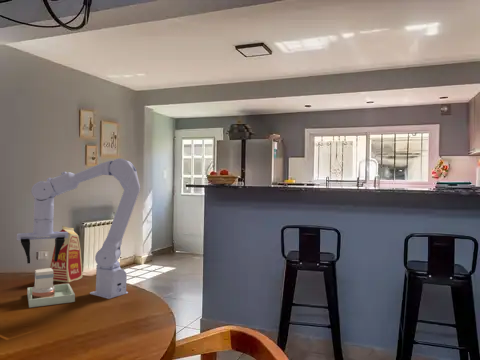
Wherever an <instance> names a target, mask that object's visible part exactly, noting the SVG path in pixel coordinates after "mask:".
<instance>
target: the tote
mask: <svg viewBox="0 0 480 360" xmlns="http://www.w3.org/2000/svg"><path fill="white" fill-rule="evenodd" d="M54 285H55V296H54V297H46V298H37V299H32V288H33V287H34V286H32V287H27V288H26V289H27V294H26V295H27V302H28V308H38V307H44V306H53V305H61V304H69V303H75V302H76V294H75V292H74V290H73V288H72V286H71V285H70V283H61V284H59V283H58V284H54Z"/></svg>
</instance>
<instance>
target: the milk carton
mask: <svg viewBox="0 0 480 360" xmlns="http://www.w3.org/2000/svg"><path fill="white" fill-rule="evenodd" d="M61 228H62V229H61V230H60V231H59V232H68V238H64V239H65V241H64V244H63V245H62V247H61V250H60V252H59V255H58V259H57V261H54V255H55V246H54V247H53V251H52V257H51V260H50V265H49V268H52V269H53V274H54V276H53V282H63V283H71V282H73V281H78V280H80V279H83V260H82V249H81V242H80V235H78V233H77V232H75V231H74V229H75V228H74V227H67V226H65V225H62V227H61Z"/></svg>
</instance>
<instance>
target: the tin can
mask: <svg viewBox="0 0 480 360" xmlns="http://www.w3.org/2000/svg"><path fill="white" fill-rule="evenodd" d="M55 285H56V284H53V288H46V289H37V290H36V288H35V285H34V286H32V287H33V288H32V299H37V298H46V297H54V296H55Z"/></svg>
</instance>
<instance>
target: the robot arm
mask: <svg viewBox="0 0 480 360" xmlns="http://www.w3.org/2000/svg"><path fill="white" fill-rule="evenodd" d="M137 171H138V170H137V169H136V167H135V166H134V164H133V163H132V161H130V160H128V159H127V160H126V159H124V158H116V159H114V160H108V161H105V162H101V163H99V164H96V165H94V166H91V167H89V168H87V169H84V170H81V171H79V172H76V173H73V172H70V171H68V172H67V171H62V172H61V175H57V176H55V177H48V178H46V181H44V180H40V181H37V182H36V183H34V184H33V185H32V187H31V191H30V192H31V195H32V197H33V198H34V199H33V223H32V224H33V227H32V228H33V229H32V232H24V233H16V241H19V242H20V243H21V246H22V248H23V250H24V253H25V256H26V261H27V264H31V255H30V254H31V253H30V252H31V240H47V239H48V240H52V239H54V247H55V255H54V261H57V259H58V255H59V252H60V250H61V247H62V245H63V244H64V241H65V239H64V238H68V232H60V231H54V216H55V215H54V214H55V197H56V196H60V195H63V194H65V193H67V192H70V191H73V190H76V189H77V188H78V187H79V184H80V183H83V182H87V181H89V180H93V179H95V178H98V177H101V176H113V177H114V178H115V179H116V180H117V181H118V183H119V184H120V185H121V187H122V189H123V193H122V195H121V199H120V200H119V203H118V206H117V209H116V212H115V214H114V217H113V220H112V223H111V225H110V228H109V231H108V233H107V236H106V238H105V239H104V242H103V243H102V246H101V247H100V249H98V251H97V252H96V254H95V263H96V266H95V267H96V270H95V271H96V272H95V273H96V275H95V276H96V277H95V278H96V279H95V291H91V292H89V294H90V295H93V296H97V297H101V298H104V299H108V300H109V299H113V298H116V297H120V296H123V295H126V294H128V293H129V292H128V291H127V276H128V275H127V272H126V270H124V269H123V268H121V264H120V262H119V259H120V258H121V254H122V251H121V247H122V246H121V245H122V244H123V238H124V235H125V233H126V230H127V227H128V224H129V222H130V218H131V216H132V214H133V212H134V211H133V210H134V208H135V205H136V202H137V200H138V197H139V194H140V191H141V185H140V179H139V176H138V172H137Z"/></svg>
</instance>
